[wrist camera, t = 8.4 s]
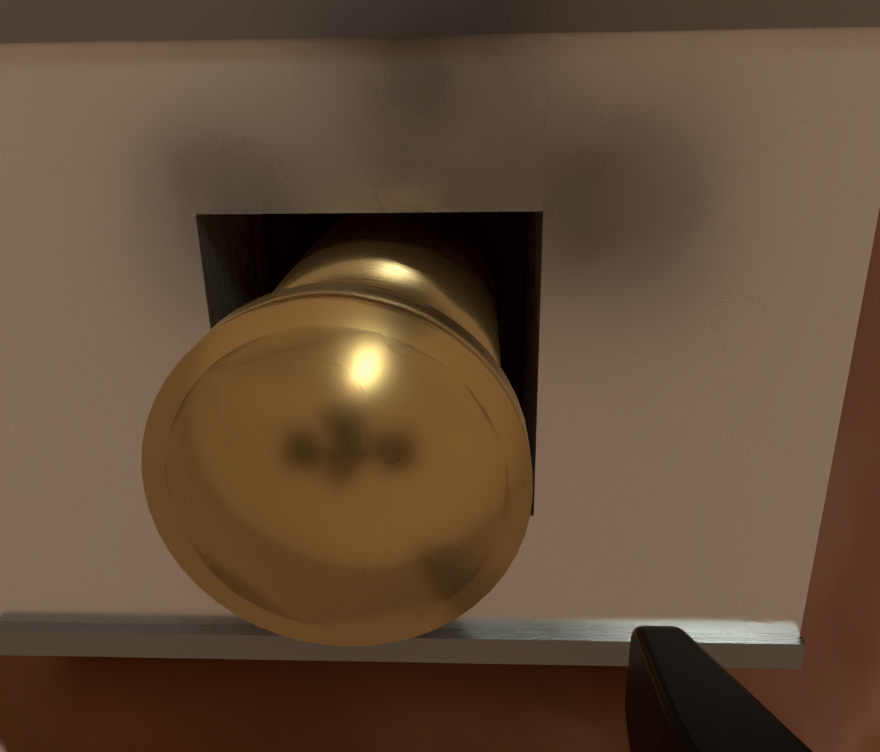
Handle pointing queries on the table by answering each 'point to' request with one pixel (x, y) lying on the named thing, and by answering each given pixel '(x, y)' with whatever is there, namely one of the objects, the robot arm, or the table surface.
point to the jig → (547, 289)
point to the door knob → (348, 441)
